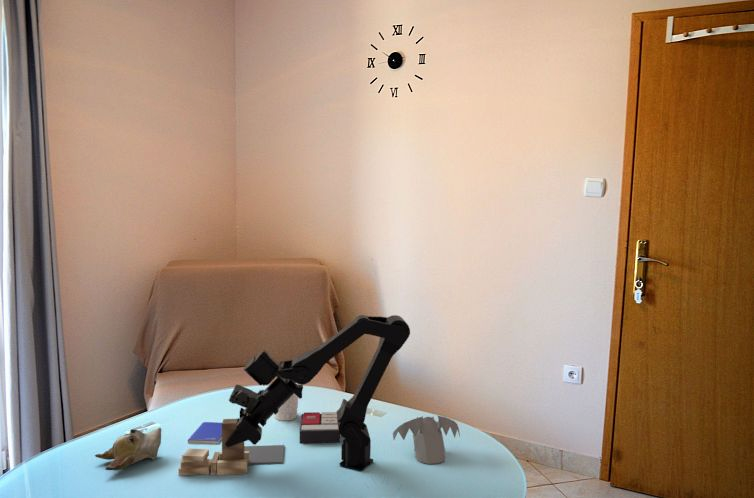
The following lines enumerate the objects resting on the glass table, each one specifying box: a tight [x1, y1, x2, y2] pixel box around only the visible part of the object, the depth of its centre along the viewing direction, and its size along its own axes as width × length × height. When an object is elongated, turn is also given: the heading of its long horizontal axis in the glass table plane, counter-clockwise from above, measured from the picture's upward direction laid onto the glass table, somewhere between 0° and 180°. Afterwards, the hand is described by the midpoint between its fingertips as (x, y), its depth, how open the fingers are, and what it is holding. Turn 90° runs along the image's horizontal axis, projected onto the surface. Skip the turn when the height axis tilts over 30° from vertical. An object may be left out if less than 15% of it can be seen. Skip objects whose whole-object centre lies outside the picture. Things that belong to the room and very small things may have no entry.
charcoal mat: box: [244, 444, 285, 465], centre depth 153 cm, size 12×10×1 cm
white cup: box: [273, 383, 300, 422], centre depth 179 cm, size 8×8×10 cm
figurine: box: [392, 415, 461, 465], centre depth 155 cm, size 18×13×11 cm
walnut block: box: [221, 418, 245, 460], centre depth 145 cm, size 5×3×12 cm, turn 97°
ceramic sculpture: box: [94, 427, 162, 471], centre depth 147 cm, size 11×9×15 cm
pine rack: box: [210, 451, 250, 476], centre depth 145 cm, size 8×6×3 cm
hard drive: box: [187, 421, 222, 445], centre depth 166 cm, size 2×8×12 cm
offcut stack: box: [177, 448, 212, 476], centre depth 144 cm, size 7×6×4 cm
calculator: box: [299, 411, 342, 445], centre depth 168 cm, size 11×4×15 cm
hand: (227, 442), depth 144 cm, fingers closed on walnut block, 3 cm apart
